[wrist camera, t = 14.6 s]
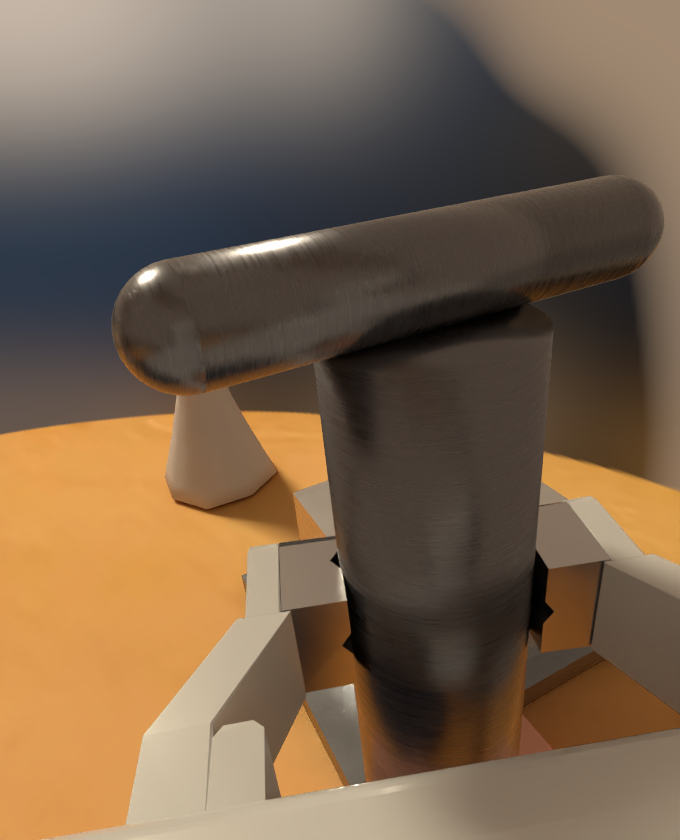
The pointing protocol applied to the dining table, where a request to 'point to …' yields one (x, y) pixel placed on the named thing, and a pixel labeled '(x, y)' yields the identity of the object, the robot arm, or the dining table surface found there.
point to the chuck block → (338, 705)
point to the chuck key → (411, 425)
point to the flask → (214, 452)
